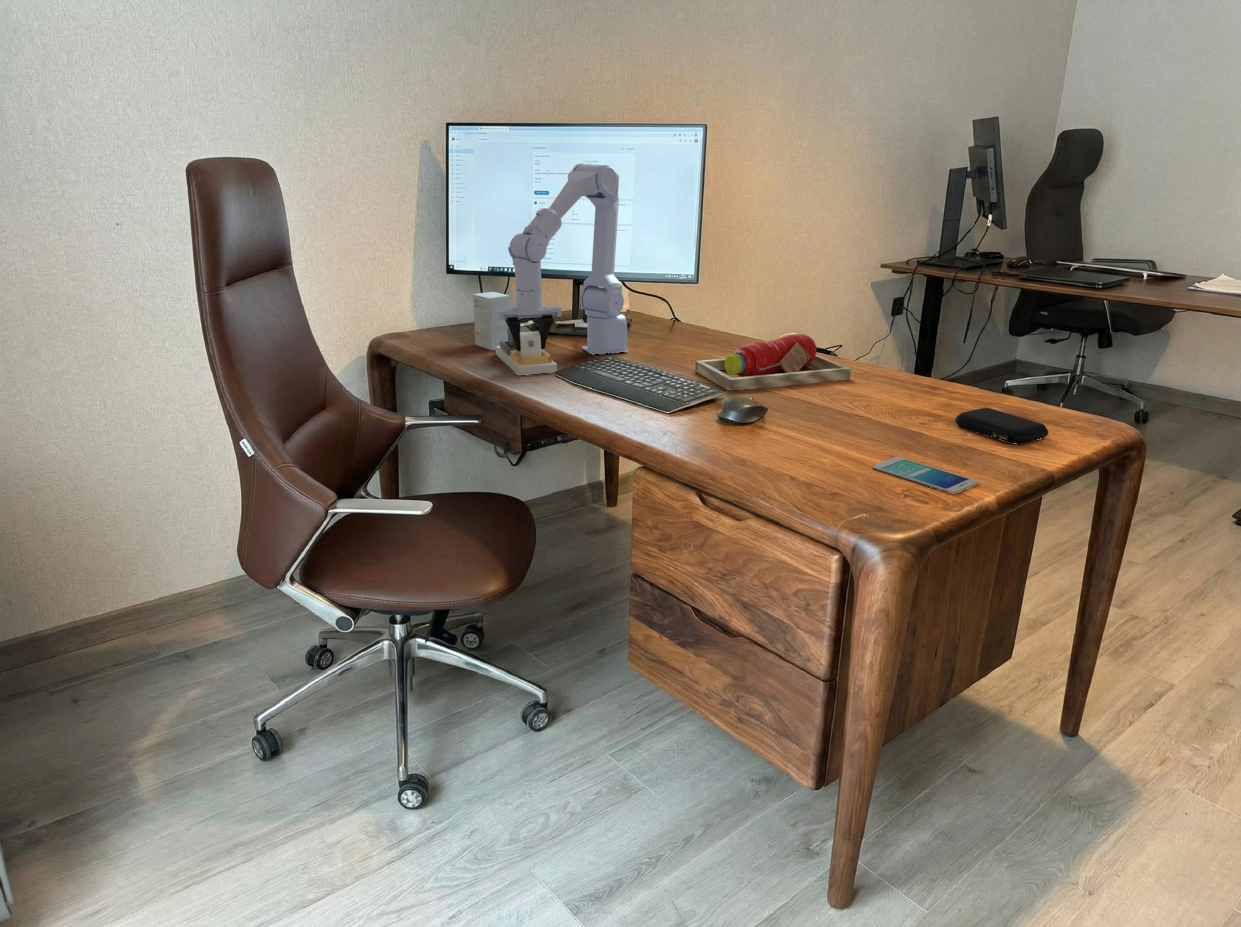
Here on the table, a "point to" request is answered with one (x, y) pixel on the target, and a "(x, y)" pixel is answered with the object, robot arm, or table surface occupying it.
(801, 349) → the water bottle
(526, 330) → the twin plug
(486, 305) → the small box
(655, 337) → the table surface
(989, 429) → the carrying case or bag
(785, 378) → the desk tray
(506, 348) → the white base platform
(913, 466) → the smartphone
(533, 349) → the plug
